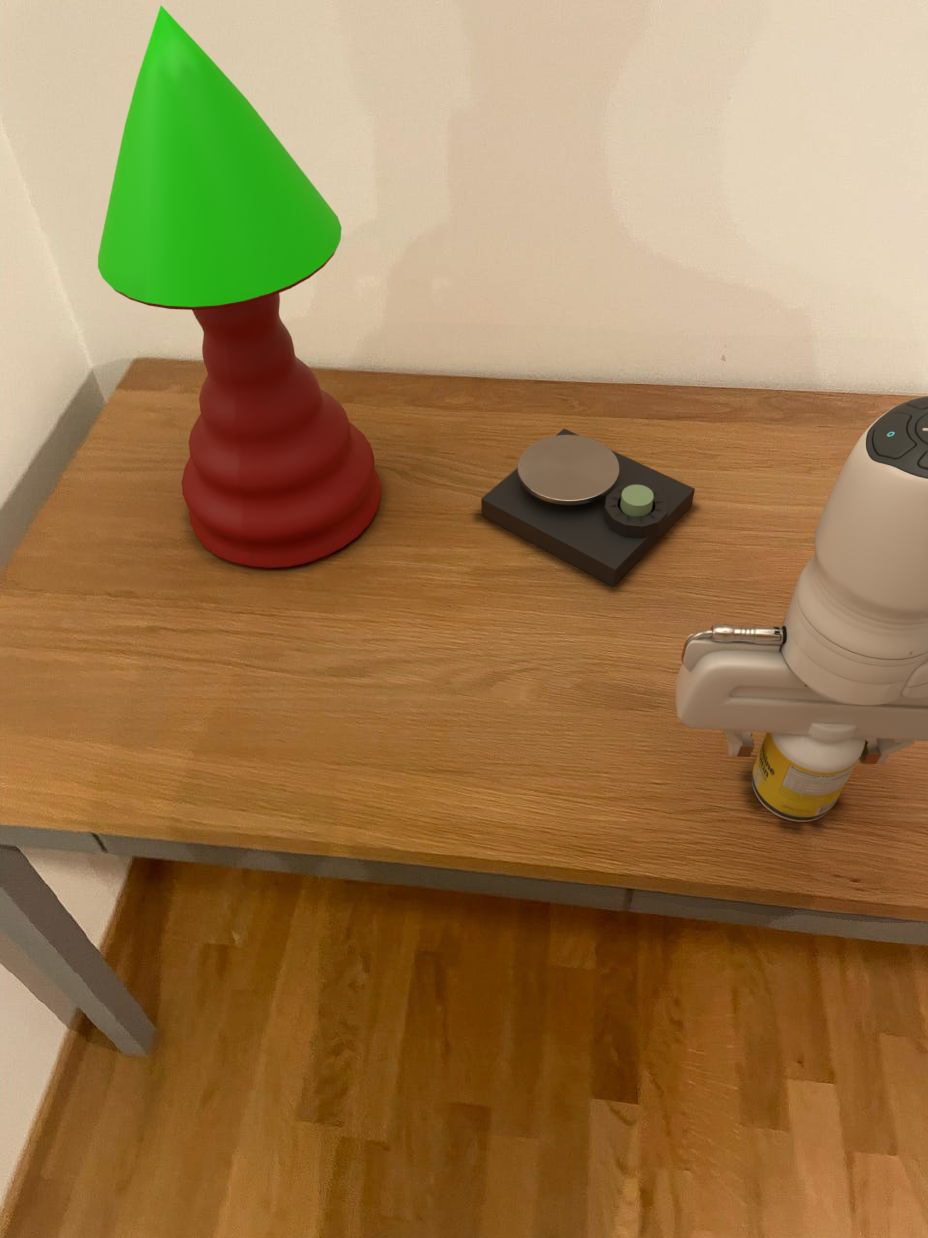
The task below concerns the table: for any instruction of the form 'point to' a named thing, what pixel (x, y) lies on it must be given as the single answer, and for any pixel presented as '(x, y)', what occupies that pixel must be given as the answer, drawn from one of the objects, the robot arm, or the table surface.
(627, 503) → the button
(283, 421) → the table lamp
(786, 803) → the pill bottle
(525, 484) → the scale pan
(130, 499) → the table surface
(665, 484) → the scale
